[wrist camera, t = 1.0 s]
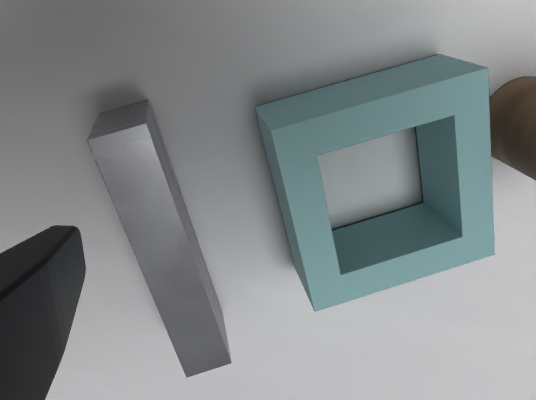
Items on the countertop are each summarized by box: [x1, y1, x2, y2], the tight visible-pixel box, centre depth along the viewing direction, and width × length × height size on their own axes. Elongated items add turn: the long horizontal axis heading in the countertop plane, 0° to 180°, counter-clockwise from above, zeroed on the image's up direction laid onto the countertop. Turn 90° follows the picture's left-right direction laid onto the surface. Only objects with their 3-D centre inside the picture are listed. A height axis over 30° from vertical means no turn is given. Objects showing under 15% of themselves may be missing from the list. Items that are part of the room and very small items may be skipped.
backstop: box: [87, 100, 231, 377], centre depth 21 cm, size 2×11×4 cm, turn 14°
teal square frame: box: [255, 54, 495, 312], centre depth 21 cm, size 8×8×4 cm
